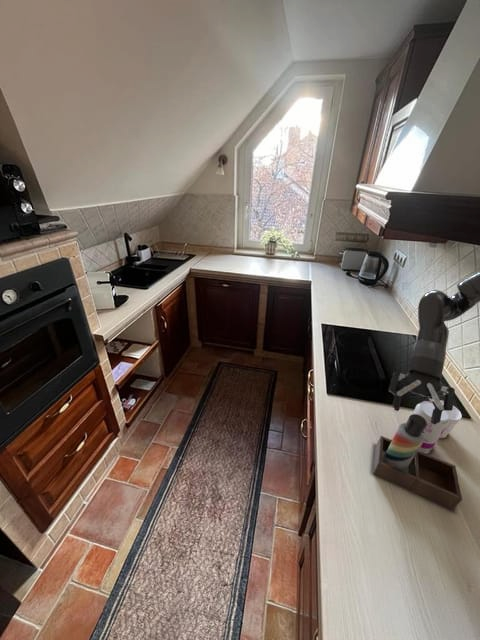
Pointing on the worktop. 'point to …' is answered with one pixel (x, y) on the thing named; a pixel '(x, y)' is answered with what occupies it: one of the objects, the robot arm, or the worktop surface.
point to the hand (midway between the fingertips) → (414, 417)
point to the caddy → (421, 476)
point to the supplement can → (430, 425)
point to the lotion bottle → (406, 442)
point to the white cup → (451, 420)
